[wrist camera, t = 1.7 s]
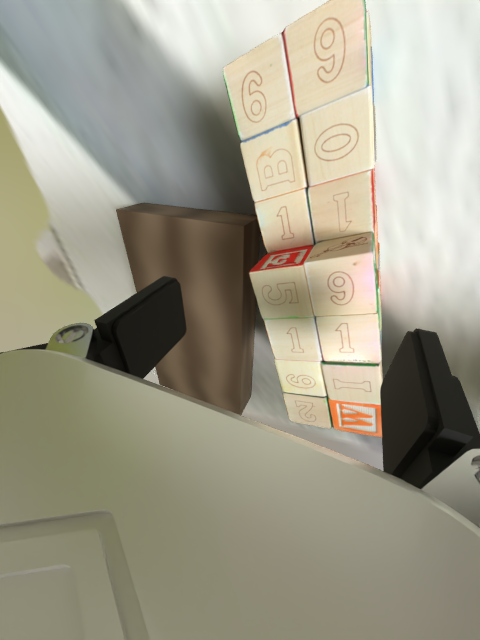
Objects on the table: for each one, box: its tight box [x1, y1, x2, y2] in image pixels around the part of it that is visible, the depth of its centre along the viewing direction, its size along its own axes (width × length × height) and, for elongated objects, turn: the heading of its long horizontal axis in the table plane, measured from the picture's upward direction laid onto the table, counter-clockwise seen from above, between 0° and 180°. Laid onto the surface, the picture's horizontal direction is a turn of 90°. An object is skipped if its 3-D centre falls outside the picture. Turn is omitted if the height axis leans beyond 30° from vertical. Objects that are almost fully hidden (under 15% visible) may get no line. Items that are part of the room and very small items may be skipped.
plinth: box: [116, 203, 260, 415], centre depth 32 cm, size 14×26×4 cm, turn 0°
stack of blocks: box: [223, 0, 383, 437], centre depth 17 cm, size 21×6×12 cm, turn 18°
